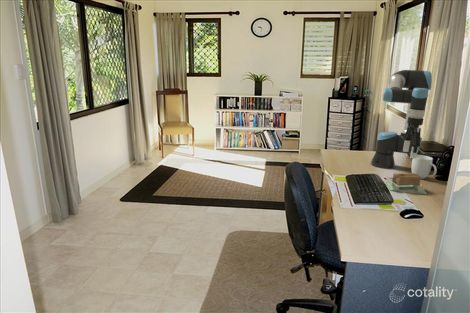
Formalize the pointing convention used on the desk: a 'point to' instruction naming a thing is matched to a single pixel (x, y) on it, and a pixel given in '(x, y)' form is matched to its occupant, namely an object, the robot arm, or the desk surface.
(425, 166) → the mug
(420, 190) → the carcass
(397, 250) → the desk surface
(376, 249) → the desk surface
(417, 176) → the door
